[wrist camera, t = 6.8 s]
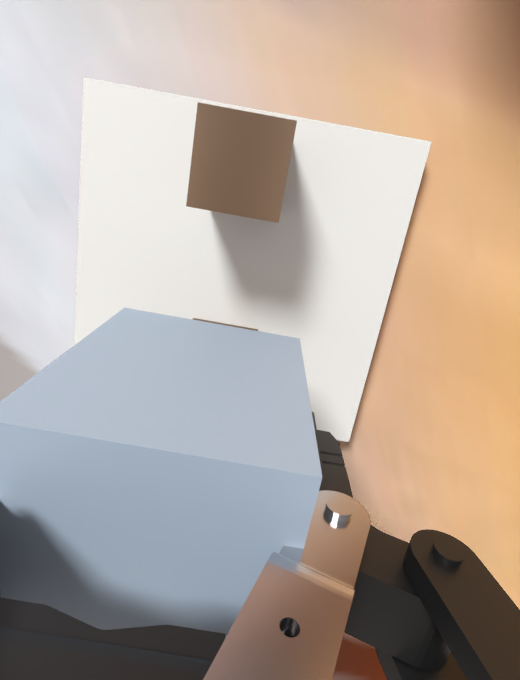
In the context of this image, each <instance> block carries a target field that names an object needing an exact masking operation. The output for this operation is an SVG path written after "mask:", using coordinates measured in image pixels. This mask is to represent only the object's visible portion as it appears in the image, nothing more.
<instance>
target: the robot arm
mask: <svg viewBox="0 0 520 680" xmlns="http://www.w3.org/2000/svg"><path fill="white" fill-rule="evenodd" d="M312 416H313V423H314V429H315V435H316V441H317V447H318V453H319V459H320V465H321V472H322V481H321V485H320V489H319V492H318V496H317V500H316V504H315V508H314V511H313V515H312V519H311V523H310V527H309V531H308V534H307V538H306V542H305V546H304V549H302V548H296V547H290V546H284V545H283V547H282V549H281V551H280V553H277V552H273V553H272V554H271V556H270V557H269V559H268V561H267V563H266V564H265V566H264V568H263V570H262V572H261V574H260V575H259V577H258V579H257V581H256V583H255V585H254V587H253V588H252V590H251V592H250V594H249V596H248V598H247V599H246V601H245V603H244V605H243V607H242V609H241V610H240V612H239V614H238V616H237V618H236V620H235V622H234V623H233V625H232V627H231V629H230V631H229V633H228V634H227V636H226V634H224V633H218V632H211V631H205V630H199V629H193V628H187V627H180V626H174V625H156V626H145V627H133V628H122V629H111V630H103V629H98V628H95V627H93V626H91V625H89V624H87V623H85V622H82V621H80V620H78V619H76V618H74V617H72V616H69V615H67V614H65V613H63V612H61V611H59V610H57V609H54V608H52V607H50V606H48V605H44V604H38V603H31V602H25V601H19V600H13V599H7V598H1V590H0V680H332V677H333V673H334V669H335V665H336V662H337V658H338V654H339V650H340V646H341V642H342V638H343V635H344V632H345V633H347V634H349V635H351V636H353V637H355V638H357V639H359V640H361V641H363V642H365V643H367V644H369V645H371V646H374V647H375V649H376V653H377V656H378V659H379V661H380V663H381V666H382V668H383V670H384V672H385V675H386V678H387V680H520V610H519V609H518V607H517V606H516V605H515V604H514V602H513V601H512V600H511V598H510V597H509V596H508V595H507V593H506V592H505V591H504V590H503V588H502V587H501V586H500V585H499V583H498V582H497V581H496V580H495V578H494V577H493V576H492V575H491V573H490V572H489V571H488V569H487V568H486V567H485V566H484V564H483V563H482V562H481V561H480V559H479V558H478V557H477V556H476V554H475V553H474V552H473V551H472V550H471V549H470V548H469V547H468V546H466V545H465V544H464V543H462V542H461V541H459V540H458V539H456V538H454V537H452V536H450V535H448V534H446V533H443V532H440V531H435V530H421V531H418V532H416V533H415V534H414V535H413V536H412V538H411V540H410V543H407V542H405V541H403V540H400V539H398V538H395V537H393V536H390V535H388V534H386V533H383V532H381V531H380V530H378V529H376V528H375V527H373V526H372V525H370V524H371V520H370V516H369V514H368V512H367V510H366V509H365V508H364V507H363V506H362V505H361V504H360V503H359V502H358V501H357V500H355V499H354V498H353V496H352V492H351V488H350V484H349V480H348V476H347V472H346V468H345V467H344V465H345V464H344V460H343V457H342V452H341V448H340V444H339V442H338V441H337V440H336V439H335V438H334V437H333V435H332V434H331V433H330V432H327V431H322V430H317V428H316V422H315V416H314V412H312ZM225 637H226V638H225Z"/></svg>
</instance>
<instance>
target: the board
mask: <svg viewBox="0 0 520 680" xmlns="http://www.w3.org/2000/svg"><path fill="white" fill-rule="evenodd" d="M198 102H199V103H205V104H210V105H216V106H221V107H226V108H232V109H237V110H242V111H248V112H253V113H259V114H264V115H269V116H275V117H280V118H285V119H291V120H296V121H297V124H296V129H295V135H294V141H293V146H292V152H291V157H290V163H289V168H288V174H287V179H286V185H285V190H284V196H283V201H282V207H281V212H280V218H279V223H275V222H270V221H264V220H259V219H253V218H248V217H242V216H237V215H231V214H226V213H220V212H215V211H209V210H204V209H198V208H193V207H187V206H186V202H187V193H188V184H189V176H190V167H191V158H192V149H193V140H194V131H195V122H196V113H197V104H198ZM430 146H431V142H430V141H425V140H419V139H414V138H409V137H403V136H398V135H392V134H387V133H382V132H376V131H371V130H366V129H360V128H355V127H349V126H344V125H339V124H333V123H328V122H323V121H317V120H312V119H306V118H301V117H296V116H290V115H285V114H280V113H274V112H269V111H263V110H258V109H253V108H247V107H242V106H237V105H231V104H226V103H220V102H215V101H210V100H204V99H199V98H194V97H188V96H183V95H177V94H172V93H167V92H161V91H156V90H150V89H145V88H140V87H134V86H129V85H124V84H118V83H113V82H107V81H102V80H97V79H91V78H86V77H84V80H83V108H82V136H81V164H80V192H79V220H78V249H77V277H76V305H75V333H74V345H76V344H77V343H78V342H80V341H81V340H82V339H84V338H85V337H86V336H88V335H89V334H90V333H91V332H93V331H94V330H95V329H97V328H98V327H99V326H101V325H102V324H103V323H105V322H106V321H107V320H109V319H110V318H111V317H113V316H114V315H115V314H117V313H118V312H119V311H121V310H122V309H123V308H130V309H136V310H141V311H147V312H153V313H158V314H164V315H170V316H175V317H181V318H186V319H193V318H197V319H203V320H208V321H214V322H220V323H225V324H231V325H237V326H242V327H248V328H253V329H258V331H260V332H266V333H271V334H277V335H283V336H288V337H294V338H300V343H301V349H302V355H303V361H304V367H305V373H306V380H307V386H308V392H309V398H310V404H311V410H312V412H314V416H315V422H316V428H317V430H322V431H327V432H330V433H331V434H332V435H333V437H334V438H335V439H336V440H339V441H345V442H349V440H350V436H351V432H352V429H353V425H354V421H355V418H356V414H357V411H358V407H359V403H360V400H361V396H362V392H363V389H364V385H365V382H366V378H367V374H368V371H369V367H370V363H371V360H372V356H373V353H374V349H375V345H376V342H377V338H378V334H379V331H380V327H381V324H382V320H383V316H384V313H385V309H386V305H387V302H388V298H389V295H390V291H391V287H392V284H393V280H394V276H395V273H396V269H397V265H398V262H399V258H400V255H401V251H402V247H403V244H404V240H405V236H406V233H407V229H408V226H409V222H410V218H411V215H412V211H413V207H414V204H415V200H416V197H417V193H418V189H419V186H420V182H421V178H422V175H423V171H424V168H425V164H426V160H427V157H428V153H429V149H430Z"/></svg>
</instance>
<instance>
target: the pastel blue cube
mask: <svg viewBox="0 0 520 680" xmlns="http://www.w3.org/2000/svg"><path fill="white" fill-rule="evenodd" d="M321 481H322V472H321V465H320V459H319V453H318V447H317V441H316V435H315V429H314V423H313V416H312V410H311V404H310V398H309V392H308V386H307V380H306V373H305V367H304V361H303V355H302V349H301V343H300V338H294V337H288V336H283V335H277V334H271V333H266V332H260V331H254V330H249V329H243V328H237V327H232V326H226V325H220V324H215V323H209V322H203V321H198V320H192V319H186V318H181V317H175V316H170V315H164V314H158V313H153V312H147V311H141V310H136V309H130V308H123V309H122V310H121V311H119V312H118V313H117V314H115V315H114V316H113V317H111V318H110V319H109V320H107V321H106V322H105V323H103V324H102V325H101V326H99V327H98V328H97V329H95V330H94V331H93V332H91V333H90V334H89V335H88V336H86V337H85V338H84V339H82V340H81V341H80V342H78V343H77V344H76V345H74V346H73V347H72V348H70V349H69V350H68V351H66V352H65V353H64V354H62V355H61V356H60V357H58V358H57V359H56V360H54V361H53V362H52V363H50V364H49V365H48V366H47V367H45V368H44V369H43V370H41V371H40V372H39V373H37V374H36V375H35V376H33V377H32V378H31V379H29V380H28V381H27V382H25V383H24V384H23V385H21V386H20V387H19V388H18V389H16V390H15V391H13V392H12V393H11V394H10V395H8V396H7V397H6V398H4V399H3V400H2V401H0V590H1V598H7V599H13V600H19V601H25V602H31V603H38V604H44V605H48V606H50V607H52V608H54V609H57V610H59V611H61V612H63V613H65V614H67V615H69V616H72V617H74V618H76V619H78V620H80V621H82V622H85V623H87V624H89V625H91V626H93V627H95V628H98V629H103V630H111V629H122V628H133V627H145V626H156V625H174V626H180V627H187V628H193V629H199V630H205V631H211V632H218V633H224V634H226V636H227V634H228V633H229V631H230V629H231V627H232V625H233V623H234V622H235V620H236V618H237V616H238V614H239V612H240V610H241V609H242V607H243V605H244V603H245V601H246V599H247V598H248V596H249V594H250V592H251V590H252V588H253V587H254V585H255V583H256V581H257V579H258V577H259V575H260V574H261V572H262V570H263V568H264V566H265V564H266V563H267V561H268V559H269V557H270V556H271V554H272V553H273V552H277V553H280V551H281V549H282V547H283V545H284V546H290V547H296V548H302V549H304V546H305V542H306V538H307V534H308V531H309V527H310V523H311V519H312V515H313V511H314V508H315V504H316V500H317V496H318V492H319V489H320V485H321ZM225 638H226V637H225Z"/></svg>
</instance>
